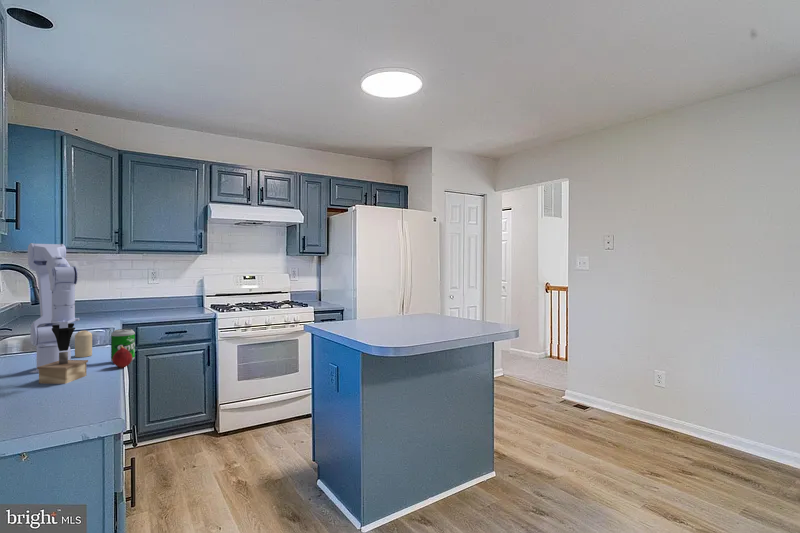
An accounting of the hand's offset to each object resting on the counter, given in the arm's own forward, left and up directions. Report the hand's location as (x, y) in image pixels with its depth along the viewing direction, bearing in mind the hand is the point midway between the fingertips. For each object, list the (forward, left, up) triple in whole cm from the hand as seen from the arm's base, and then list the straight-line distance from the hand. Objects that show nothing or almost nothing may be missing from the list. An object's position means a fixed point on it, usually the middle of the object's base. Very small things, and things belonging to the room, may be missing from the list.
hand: (63, 348), depth 135 cm
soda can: (-27, +2, -11) cm, 29 cm away
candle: (-36, -19, -11) cm, 42 cm away
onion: (-17, +8, -11) cm, 21 cm away
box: (-1, -1, -11) cm, 11 cm away
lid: (-1, -1, -6) cm, 6 cm away
